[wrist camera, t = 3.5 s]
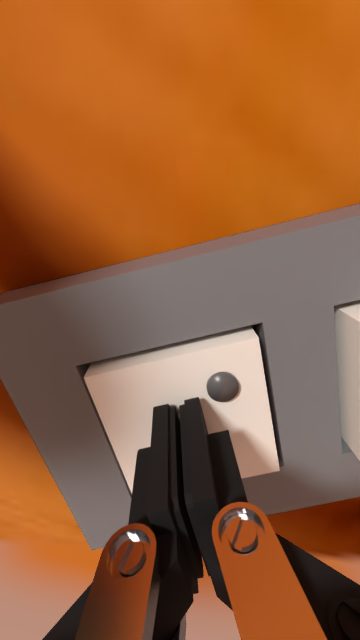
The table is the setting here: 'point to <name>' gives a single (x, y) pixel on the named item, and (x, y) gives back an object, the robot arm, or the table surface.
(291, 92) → the table surface
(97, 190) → the table surface
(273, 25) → the table surface
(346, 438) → the tile
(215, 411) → the tile
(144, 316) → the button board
